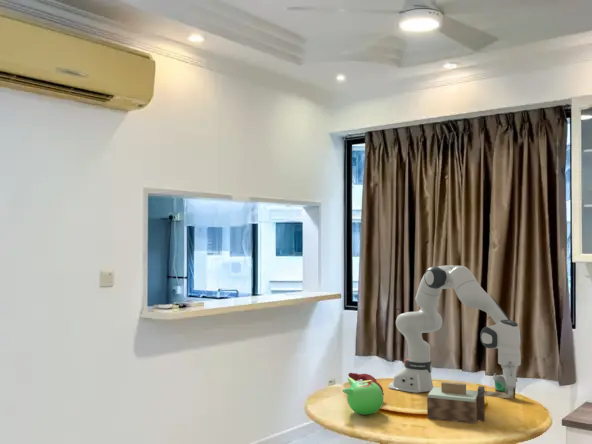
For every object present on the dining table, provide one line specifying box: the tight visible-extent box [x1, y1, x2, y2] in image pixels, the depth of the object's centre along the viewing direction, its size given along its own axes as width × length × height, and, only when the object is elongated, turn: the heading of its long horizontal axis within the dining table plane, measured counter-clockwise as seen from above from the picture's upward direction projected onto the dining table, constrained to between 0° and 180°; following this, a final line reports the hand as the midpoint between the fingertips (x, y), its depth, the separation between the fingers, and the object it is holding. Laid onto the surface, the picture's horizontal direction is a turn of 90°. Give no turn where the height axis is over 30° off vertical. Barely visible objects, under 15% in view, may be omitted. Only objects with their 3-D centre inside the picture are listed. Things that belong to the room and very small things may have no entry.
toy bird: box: [342, 376, 384, 416], centre depth 262 cm, size 18×17×15 cm
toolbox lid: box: [427, 381, 478, 402], centre depth 257 cm, size 19×14×6 cm
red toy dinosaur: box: [348, 372, 385, 396], centre depth 292 cm, size 28×9×15 cm
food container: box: [492, 372, 518, 399], centre depth 289 cm, size 12×6×10 cm, turn 37°
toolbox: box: [426, 385, 486, 425], centre depth 257 cm, size 22×14×13 cm, turn 67°
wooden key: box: [483, 386, 514, 399], centre depth 251 cm, size 13×2×4 cm, turn 67°
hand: (509, 393), depth 249 cm, fingers closed on wooden key, 3 cm apart
